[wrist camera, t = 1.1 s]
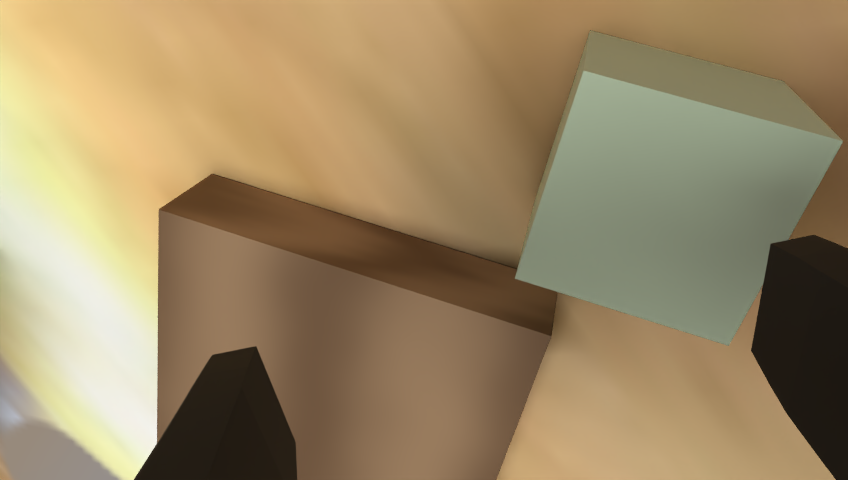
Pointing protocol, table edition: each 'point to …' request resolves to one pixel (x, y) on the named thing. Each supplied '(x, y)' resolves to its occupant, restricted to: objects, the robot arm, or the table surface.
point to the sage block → (671, 186)
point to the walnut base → (350, 333)
